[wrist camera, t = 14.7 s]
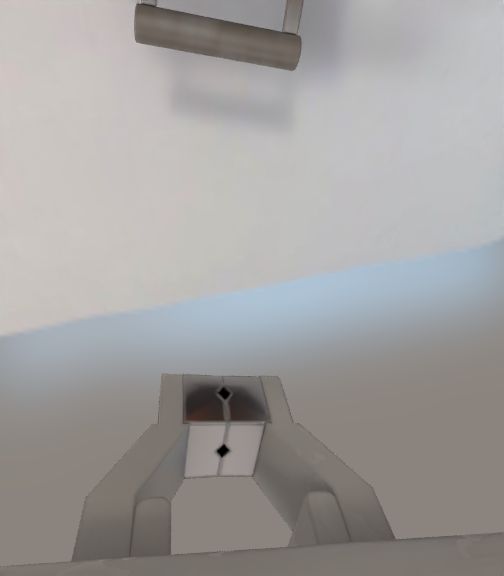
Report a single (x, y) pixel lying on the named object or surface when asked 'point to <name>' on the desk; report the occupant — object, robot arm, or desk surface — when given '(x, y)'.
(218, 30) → the drawer
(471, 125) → the desk surface
